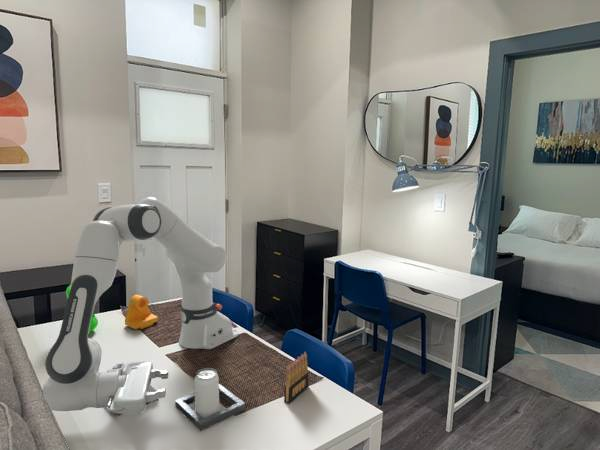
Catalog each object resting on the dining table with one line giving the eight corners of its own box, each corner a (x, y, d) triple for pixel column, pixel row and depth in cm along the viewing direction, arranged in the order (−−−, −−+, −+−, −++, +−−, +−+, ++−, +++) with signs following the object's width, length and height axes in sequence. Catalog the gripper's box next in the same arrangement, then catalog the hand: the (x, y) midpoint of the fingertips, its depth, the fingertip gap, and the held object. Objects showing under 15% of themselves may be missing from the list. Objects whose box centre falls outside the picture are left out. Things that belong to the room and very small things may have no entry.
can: (201, 404, 122) (200, 365, 120) (222, 407, 121) (222, 368, 119) (191, 418, 116) (190, 377, 114) (213, 421, 115) (212, 380, 113)
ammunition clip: (289, 404, 123) (289, 365, 121) (283, 402, 124) (284, 364, 122) (308, 387, 132) (309, 351, 130) (303, 385, 133) (304, 349, 131)
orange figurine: (135, 331, 169) (133, 302, 167) (125, 326, 174) (123, 298, 172) (158, 322, 178) (157, 295, 176) (148, 318, 182) (147, 291, 180)
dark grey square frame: (218, 388, 130) (218, 382, 130) (245, 409, 120) (245, 403, 120) (175, 406, 121) (175, 400, 121) (200, 431, 111) (200, 424, 111)
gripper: (103, 400, 103) (163, 394, 106) (118, 359, 123) (169, 355, 126) (104, 423, 104) (164, 417, 107) (120, 379, 124) (170, 374, 127)
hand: (167, 383), depth 116 cm, fingers open, 8 cm apart
